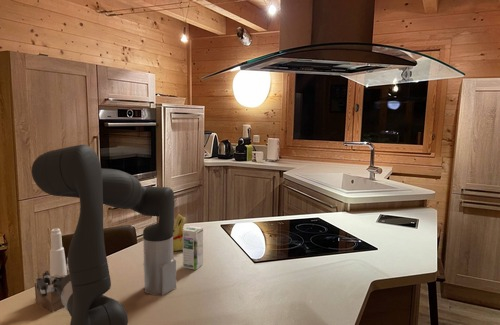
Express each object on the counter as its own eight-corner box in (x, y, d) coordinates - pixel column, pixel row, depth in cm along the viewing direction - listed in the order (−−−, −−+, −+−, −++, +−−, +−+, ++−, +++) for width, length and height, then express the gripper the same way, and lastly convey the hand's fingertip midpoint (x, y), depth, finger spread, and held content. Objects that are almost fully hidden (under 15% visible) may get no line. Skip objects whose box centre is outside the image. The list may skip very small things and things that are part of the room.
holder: (83, 297, 108) (82, 279, 107) (53, 311, 100) (52, 291, 99) (65, 289, 113) (64, 271, 112) (35, 302, 105) (34, 283, 104)
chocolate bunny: (164, 249, 148) (163, 214, 146) (190, 245, 152) (189, 211, 150) (168, 255, 142) (167, 219, 140) (194, 251, 146) (194, 215, 144)
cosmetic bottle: (49, 307, 102) (45, 234, 99) (47, 298, 107) (42, 228, 104) (72, 301, 106) (68, 230, 103) (69, 293, 110) (65, 225, 108)
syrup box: (182, 268, 130) (181, 229, 128) (190, 261, 135) (190, 225, 133) (196, 270, 128) (195, 231, 126) (203, 264, 133) (203, 227, 132)
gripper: (109, 270, 87) (91, 251, 100) (43, 286, 78) (32, 263, 91) (110, 299, 88) (92, 276, 101) (45, 318, 79) (34, 291, 92)
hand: (64, 270), depth 96 cm, fingers open, 8 cm apart
